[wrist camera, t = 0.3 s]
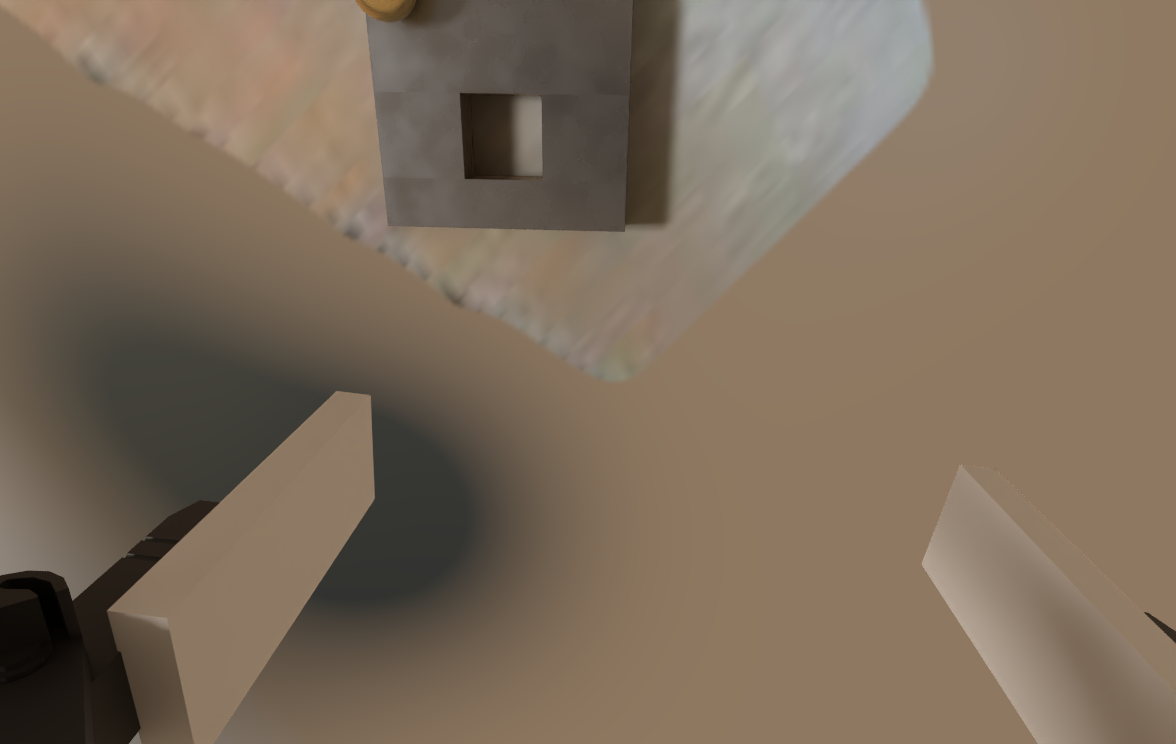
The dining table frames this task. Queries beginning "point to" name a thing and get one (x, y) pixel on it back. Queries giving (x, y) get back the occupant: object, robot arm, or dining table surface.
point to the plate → (504, 67)
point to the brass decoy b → (387, 9)
